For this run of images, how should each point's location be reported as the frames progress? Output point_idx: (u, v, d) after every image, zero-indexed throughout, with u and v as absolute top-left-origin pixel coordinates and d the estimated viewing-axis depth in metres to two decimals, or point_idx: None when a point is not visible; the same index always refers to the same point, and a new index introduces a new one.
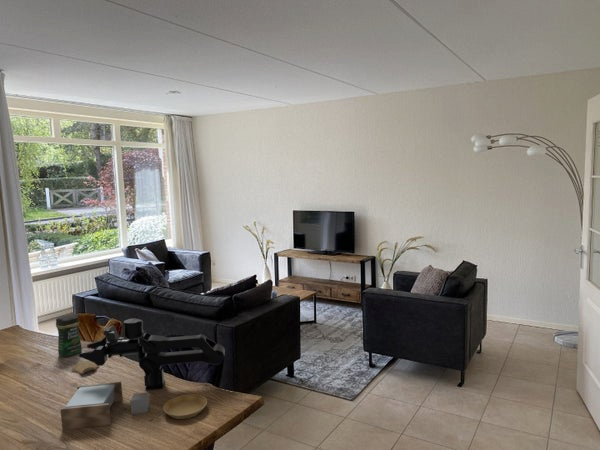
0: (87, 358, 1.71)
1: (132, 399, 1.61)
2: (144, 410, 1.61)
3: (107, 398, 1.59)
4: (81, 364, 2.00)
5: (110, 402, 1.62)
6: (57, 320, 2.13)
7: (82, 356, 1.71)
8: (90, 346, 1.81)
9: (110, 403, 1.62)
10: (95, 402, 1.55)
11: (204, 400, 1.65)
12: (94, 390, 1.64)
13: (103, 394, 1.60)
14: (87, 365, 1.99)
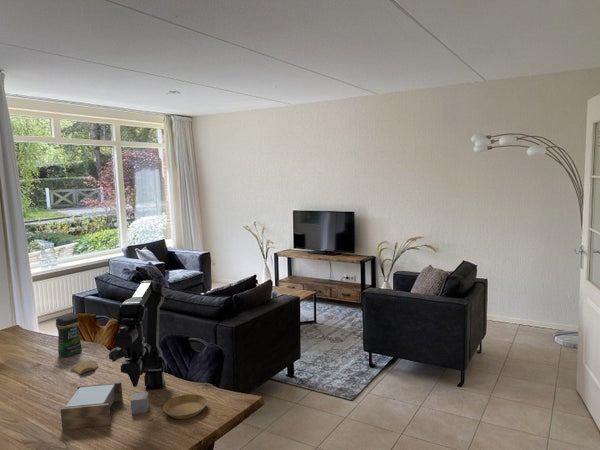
0: (137, 378, 1.56)
1: (132, 399, 1.61)
2: (144, 410, 1.61)
3: (107, 398, 1.59)
4: (80, 364, 2.00)
5: (110, 402, 1.62)
6: (57, 320, 2.13)
7: (135, 383, 1.57)
8: (141, 371, 1.66)
9: (110, 403, 1.62)
10: (95, 402, 1.55)
11: (204, 400, 1.65)
12: (94, 390, 1.64)
13: (103, 394, 1.60)
14: (86, 365, 1.99)
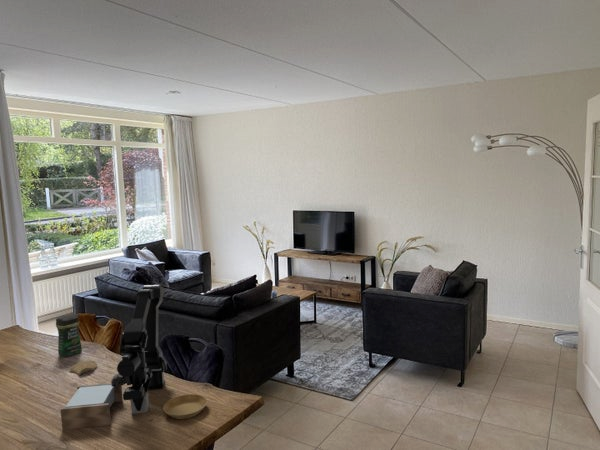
0: (140, 403, 1.59)
1: None
2: (144, 410, 1.61)
3: (107, 398, 1.59)
4: (79, 364, 1.99)
5: (110, 402, 1.62)
6: (57, 320, 2.13)
7: (139, 407, 1.60)
8: None
9: (110, 403, 1.62)
10: (95, 402, 1.55)
11: (204, 400, 1.65)
12: (94, 390, 1.64)
13: (103, 394, 1.60)
14: (85, 366, 1.99)
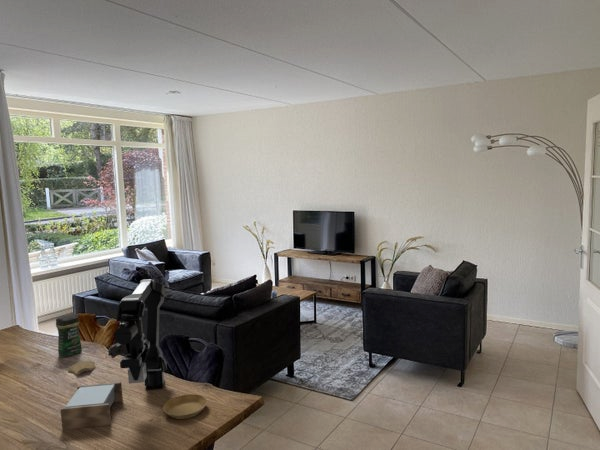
0: (137, 372, 1.58)
1: None
2: (141, 380, 1.60)
3: (107, 398, 1.59)
4: (77, 364, 1.99)
5: (110, 402, 1.62)
6: (57, 320, 2.13)
7: (136, 377, 1.59)
8: None
9: (110, 403, 1.62)
10: (95, 402, 1.55)
11: (204, 400, 1.65)
12: (94, 390, 1.64)
13: (103, 394, 1.60)
14: (83, 366, 1.99)
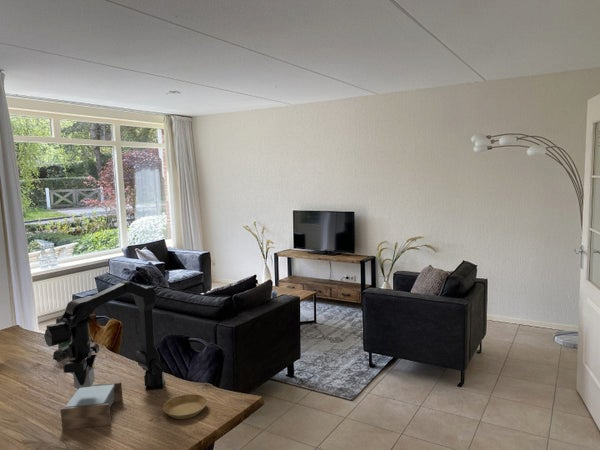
0: (83, 377, 1.56)
1: None
2: (88, 384, 1.57)
3: (107, 398, 1.59)
4: None
5: (110, 402, 1.62)
6: (57, 320, 2.13)
7: (82, 381, 1.56)
8: None
9: (110, 403, 1.62)
10: (95, 402, 1.55)
11: (204, 400, 1.65)
12: (94, 390, 1.64)
13: (103, 394, 1.60)
14: None
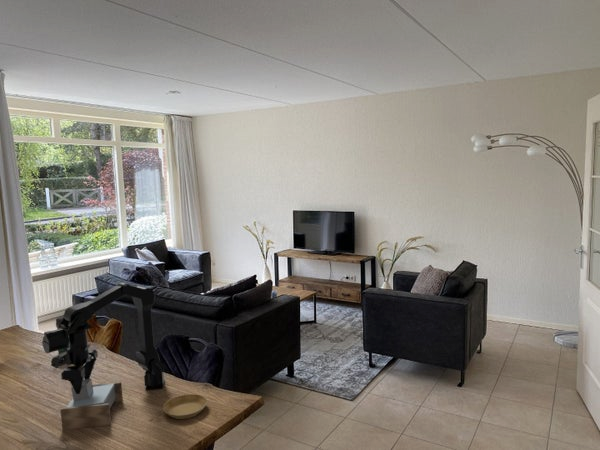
0: (79, 385, 1.54)
1: None
2: (86, 396, 1.58)
3: (107, 397, 1.59)
4: None
5: (111, 401, 1.62)
6: (57, 320, 2.13)
7: (78, 390, 1.55)
8: (87, 378, 1.64)
9: (111, 402, 1.62)
10: (95, 402, 1.55)
11: (204, 400, 1.65)
12: (94, 390, 1.64)
13: (103, 394, 1.60)
14: None
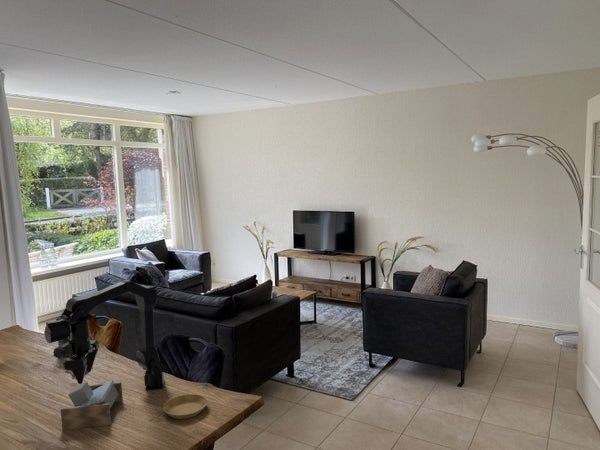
0: (81, 375, 1.55)
1: (70, 393, 1.58)
2: (86, 399, 1.58)
3: (106, 394, 1.59)
4: None
5: (112, 397, 1.62)
6: None
7: (80, 380, 1.56)
8: (89, 368, 1.65)
9: (113, 398, 1.62)
10: (94, 401, 1.55)
11: (204, 400, 1.65)
12: (94, 392, 1.64)
13: (102, 392, 1.60)
14: None
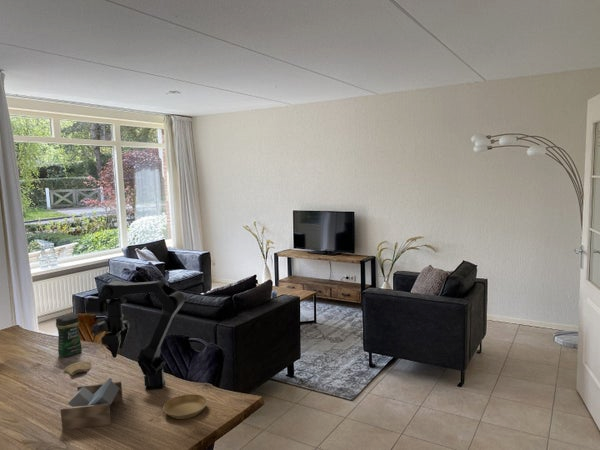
0: (116, 350, 1.76)
1: (69, 401, 1.58)
2: (86, 401, 1.58)
3: (104, 391, 1.59)
4: (73, 365, 1.99)
5: (112, 392, 1.62)
6: (57, 320, 2.13)
7: (115, 354, 1.77)
8: (120, 345, 1.86)
9: (113, 393, 1.62)
10: (93, 400, 1.55)
11: (204, 400, 1.65)
12: (95, 394, 1.64)
13: (100, 390, 1.60)
14: (78, 366, 1.98)
